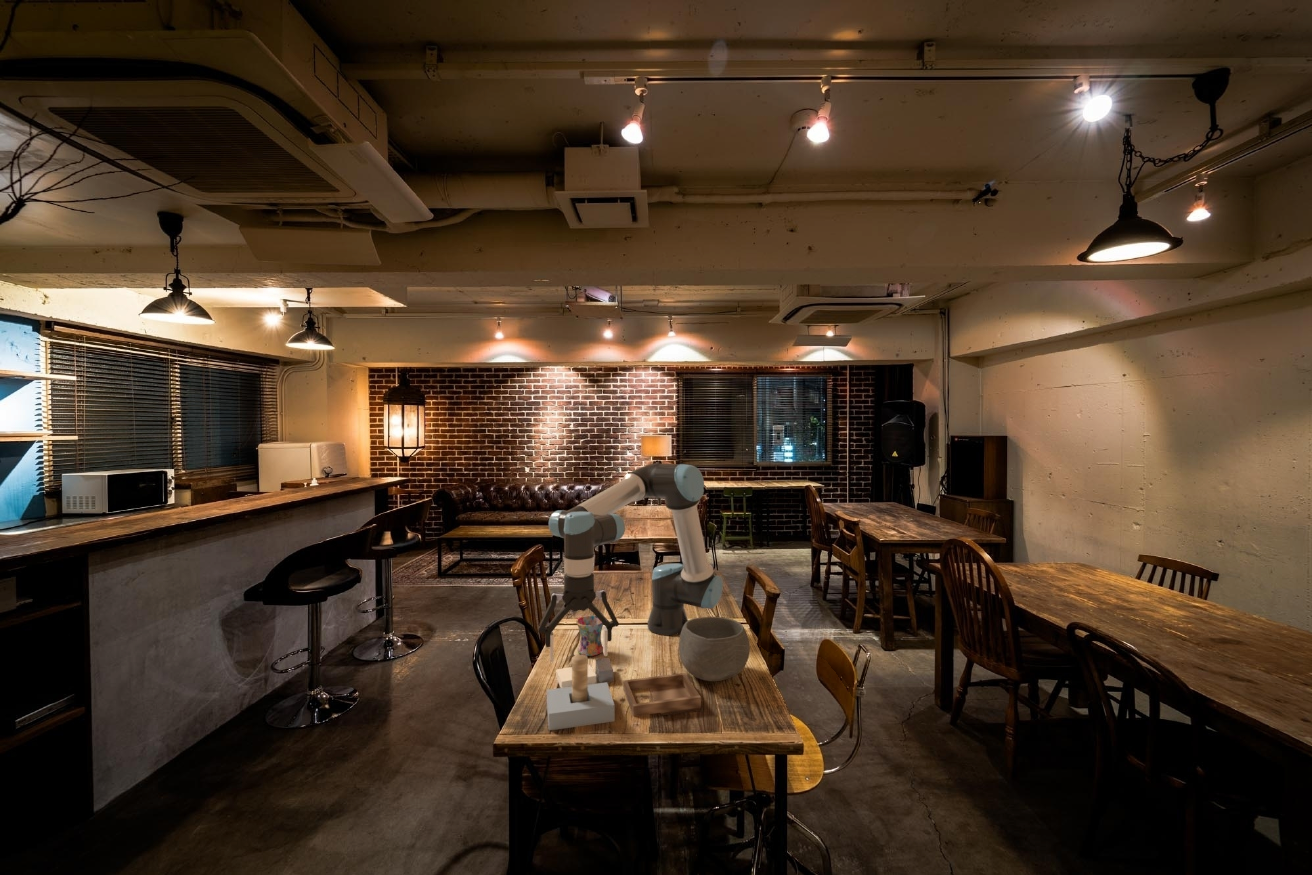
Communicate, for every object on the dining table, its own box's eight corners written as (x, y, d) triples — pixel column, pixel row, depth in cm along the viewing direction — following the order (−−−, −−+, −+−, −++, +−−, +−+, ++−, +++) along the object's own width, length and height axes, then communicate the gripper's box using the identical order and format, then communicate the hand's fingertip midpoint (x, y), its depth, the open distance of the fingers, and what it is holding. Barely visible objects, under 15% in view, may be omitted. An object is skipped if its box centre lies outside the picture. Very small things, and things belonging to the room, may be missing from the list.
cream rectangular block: (589, 675, 156) (589, 663, 156) (596, 687, 149) (596, 675, 149) (556, 681, 152) (556, 669, 152) (561, 694, 145) (561, 681, 145)
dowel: (586, 707, 135) (586, 654, 135) (588, 715, 131) (588, 660, 131) (571, 709, 134) (571, 655, 134) (572, 717, 131) (572, 662, 130)
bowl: (751, 664, 162) (751, 616, 162) (747, 697, 142) (748, 643, 142) (685, 657, 167) (684, 611, 167) (672, 689, 147) (672, 636, 147)
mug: (600, 659, 166) (600, 626, 166) (572, 657, 168) (572, 624, 167) (609, 644, 178) (609, 613, 178) (583, 642, 179) (583, 611, 179)
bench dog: (608, 672, 157) (608, 657, 157) (613, 685, 149) (613, 669, 149) (595, 674, 156) (595, 659, 156) (599, 686, 148) (599, 671, 148)
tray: (684, 684, 149) (684, 672, 149) (700, 710, 136) (700, 697, 136) (623, 692, 145) (623, 680, 145) (633, 719, 131) (633, 706, 131)
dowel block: (607, 700, 141) (607, 682, 141) (614, 724, 129) (614, 704, 129) (546, 708, 137) (546, 689, 137) (548, 734, 125) (548, 713, 125)
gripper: (624, 566, 139) (624, 645, 139) (528, 572, 133) (528, 655, 133) (629, 574, 132) (629, 657, 132) (528, 580, 126) (528, 667, 126)
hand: (578, 656), depth 132 cm, fingers open, 13 cm apart
